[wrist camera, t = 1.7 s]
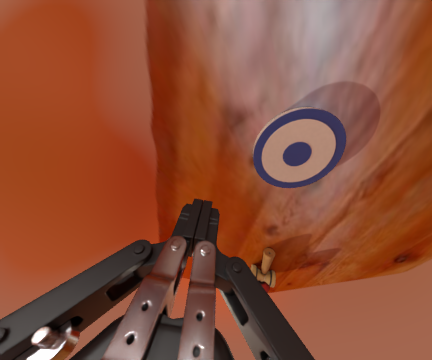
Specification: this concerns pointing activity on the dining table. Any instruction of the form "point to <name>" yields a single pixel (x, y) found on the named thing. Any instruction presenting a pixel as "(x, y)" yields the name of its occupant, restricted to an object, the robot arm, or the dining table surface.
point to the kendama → (265, 270)
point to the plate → (299, 147)
